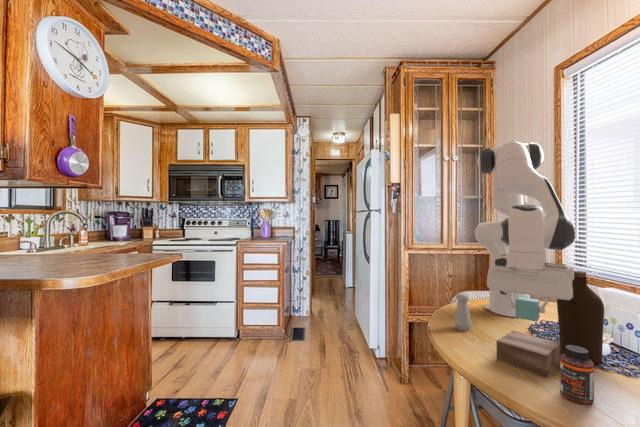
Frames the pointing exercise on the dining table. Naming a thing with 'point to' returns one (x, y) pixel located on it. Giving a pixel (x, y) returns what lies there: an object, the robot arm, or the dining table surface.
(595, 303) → the olive oil
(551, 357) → the walnut block
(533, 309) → the teal cube
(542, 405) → the dining table surface
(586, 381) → the supplement bottle
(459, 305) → the salt shaker
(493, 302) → the robot arm
